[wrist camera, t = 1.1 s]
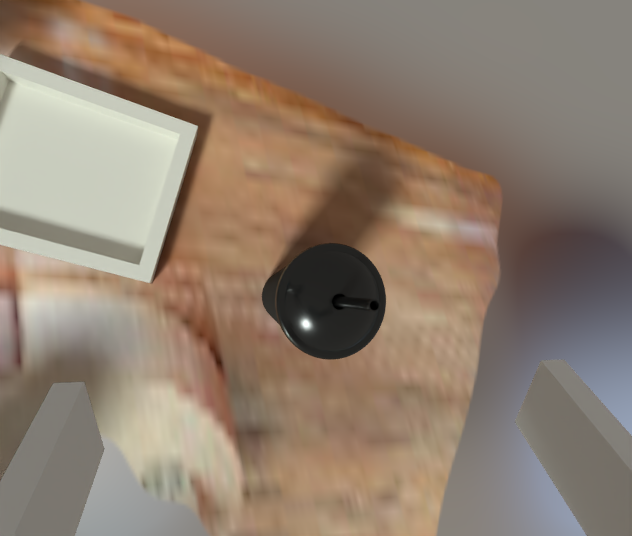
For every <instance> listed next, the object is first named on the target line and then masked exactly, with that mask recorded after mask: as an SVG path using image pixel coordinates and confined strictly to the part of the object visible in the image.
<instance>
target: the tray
mask: <svg viewBox="0 0 632 536" xmlns="http://www.w3.org/2000/svg"><path fill="white" fill-rule="evenodd" d="M197 131H198V126H196V125H194V124H191V123H188V122H185V121H183V120H180V119H177V118H174V117H172V116H169V115H166V114H163V113H161V112H158V111H155V110H152V109H150V108H147V107H144V106H141V105H139V104H136V103H133V102H130V101H128V100H125V99H122V98H119V97H117V96H114V95H111V94H108V93H106V92H103V91H100V90H97V89H95V88H92V87H89V86H86V85H84V84H81V83H78V82H75V81H73V80H70V79H67V78H64V77H62V76H59V75H56V74H53V73H51V72H48V71H45V70H42V69H40V68H37V67H34V66H31V65H29V64H26V63H23V62H20V61H18V60H15V59H12V58H9V57H7V56H4V55H1V54H0V245H3V246H7V247H11V248H15V249H19V250H23V251H27V252H31V253H35V254H39V255H42V256H46V257H50V258H54V259H58V260H62V261H66V262H70V263H74V264H78V265H81V266H85V267H89V268H93V269H97V270H101V271H105V272H109V273H113V274H116V275H120V276H124V277H128V278H132V279H136V280H140V281H144V282H148V283H152V282H153V279H154V275H155V272H156V269H157V266H158V262H159V259H160V256H161V252H162V249H163V246H164V243H165V239H166V236H167V233H168V229H169V226H170V223H171V220H172V216H173V213H174V210H175V206H176V203H177V200H178V197H179V193H180V190H181V187H182V184H183V180H184V177H185V174H186V170H187V167H188V164H189V161H190V157H191V154H192V151H193V147H194V144H195V141H196V138H197Z"/></svg>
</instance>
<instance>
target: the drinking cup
mask: <svg viewBox="0 0 632 536" xmlns="http://www.w3.org/2000/svg"><path fill="white" fill-rule="evenodd" d="M262 301H263V305H264V307H265V309H266V311H267V312H268V313H269V314H270V315H271V316H272V317H273V319H274V320H275V321H276V322H277V323H278V324H279V325H280V326H281V328H282V330H283V332H284V334H285V335H286V337H287V338H288V339H289V340H290V341H291V342H292V344H293V345H295V346H296V347H297V348H298V349H300V350H301V351H303V352H304V353H306V354H308V355H311V356H313V357H317V358H321V359H340V358H344V357H348V356H350V355H352V354H355V353H356V352H358V351H360V350H361V349H362V348H364V347H365V346H366V345H367V344H368V343H369V342H370V341H371V340H372V339H373V337H374V336H375V335H376V333H377V331H378V330H379V328H380V326H381V323H382V321H383V317H384V313H385V306H386V295H385V288H384V284H383V281H382V278H381V276H380V274H379V272H378V270H377V269H376V267H375V266H374V264H373V263H372V262H371V261H370V260H369V259H368V258H367V257H366V256H365V255H364V254H362V253H361V252H359V251H358V250H356V249H354V248H352V247H349V246H346V245H342V244H336V243H328V244H320V245H317V246H313V247H311V248H308V249H306V250H304V251H303V252H301V253H300V254H298V255H297V256H296V257H295V258H294V259H293V260H292V261H291V262H290V263H289V264H288V265H287V267H285V268H284V269H282V270H281V271H279V272H278V273H276V274H274V275H273V276H272V277H271V278H270V279H269V280H268V281H267V282H266V284H265V286H264V288H263V292H262Z"/></svg>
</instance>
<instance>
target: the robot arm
mask: <svg viewBox="0 0 632 536" xmlns="http://www.w3.org/2000/svg"><path fill="white" fill-rule="evenodd" d="M515 423H516V424H517V426H518V428H519V429H520V431H521V432H522V434H523V435H524V437H525V439H526V440H527V442H528V444H529V445H530V447H531V448H532V450H533V451H534V453H535V455H536V456H537V458H538V459H539V461H540V462H541V464H542V466H543V467H544V468H545V470H546V472H547V474H548V475H549V477H550V478H551V480H552V481H553V483H554V484H555V486H556V488H557V489H558V491H559V492H560V494H561V496H562V497H563V499H564V500H565V502H566V504H567V505H568V506H569V508H570V510H571V511H572V513H573V514H574V516H575V517H576V519H577V521H578V522H579V524H580V526H581V527H582V529H583V530H584V532H585V534H586V535H587V536H632V436H631V435H630V433H629V432H628V431H627V430H626V429H625V428H624V427H623V426H622V425H621V423H620V422H619V421H618V420H617V419H616V418H615V417H614V416H613V415H612V413H611V412H610V411H609V410H608V409H607V408H606V406H605V405H604V404H603V403H602V402H601V401H600V400H599V399H598V397H597V396H596V395H595V394H594V393H593V392H592V391H591V390H590V388H589V387H588V386H587V385H586V384H585V383H584V382H583V381H582V379H581V378H580V377H579V376H578V375H577V374H576V373H575V372H574V370H573V369H572V368H571V367H570V366H569V365H568V364H567V362H566V361H565V360H547V361H546V360H544V361H541V362H540V364H539V366H538V369H537V371H536V374H535V376H534V378H533V381H532V383H531V385H530V388H529V390H528V392H527V395H526V397H525V399H524V402H523V404H522V406H521V409H520V411H519V413H518V416H517V418H516V420H515ZM103 452H104V446H103V443H102V440H101V436H100V433H99V429H98V426H97V423H96V419H95V416H94V413H93V409H92V406H91V402H90V399H89V396H88V392H87V389H86V386H85V382H65V383H53V385H52V386H51V388H50V390H49V392H48V394H47V396H46V397H45V399H44V401H43V403H42V405H41V407H40V409H39V410H38V412H37V414H36V416H35V418H34V420H33V421H32V423H31V425H30V427H29V429H28V431H27V433H26V434H25V436H24V438H23V440H22V442H21V444H20V446H19V447H18V449H17V451H16V453H15V455H14V457H13V458H12V460H11V462H10V464H9V466H8V468H7V470H6V471H5V473H4V475H3V477H2V479H1V481H0V536H75V533H76V530H77V527H78V524H79V522H80V519H81V516H82V513H83V510H84V507H85V504H86V501H87V498H88V495H89V492H90V489H91V487H92V484H93V481H94V478H95V475H96V472H97V469H98V466H99V463H100V460H101V457H102V454H103Z"/></svg>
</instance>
